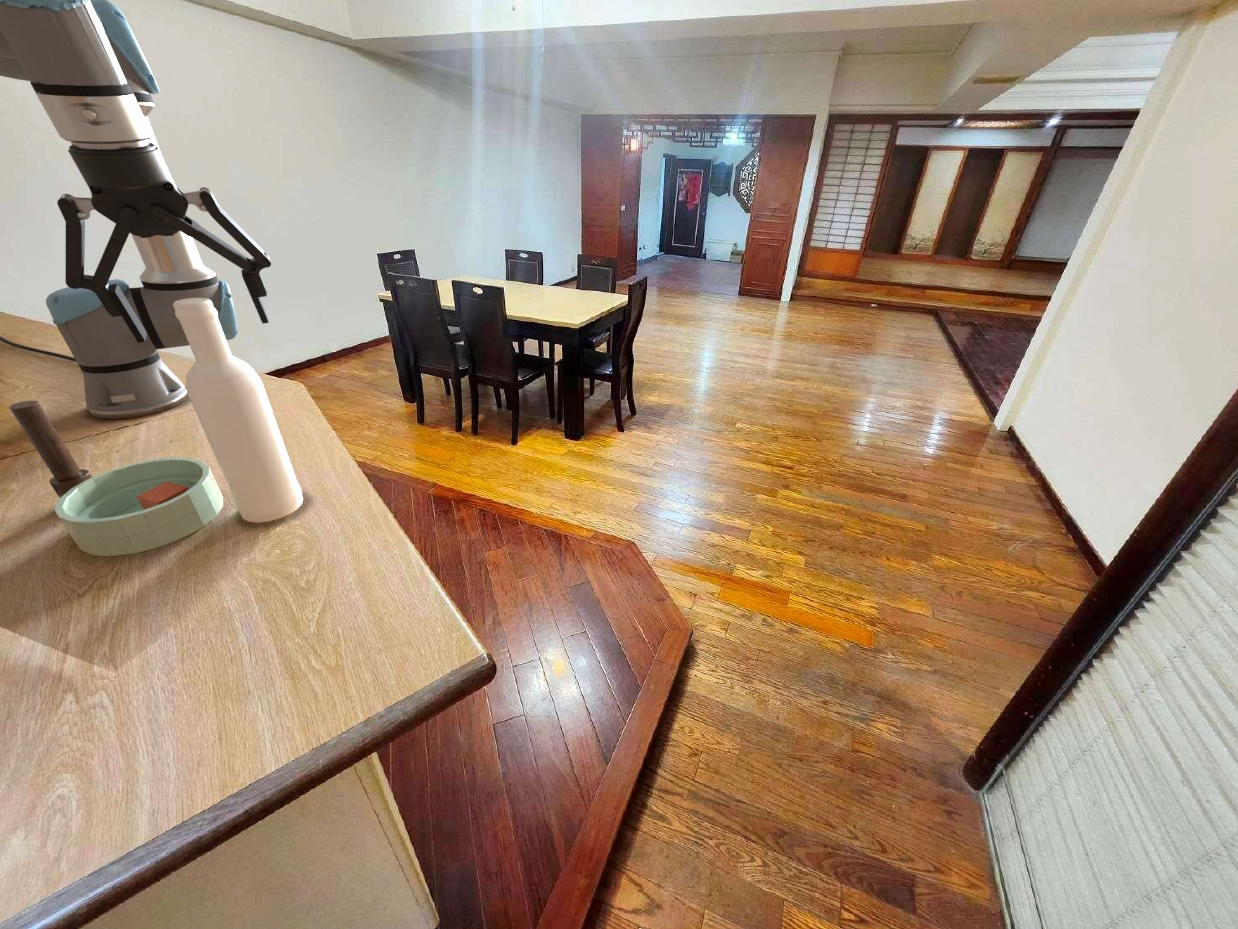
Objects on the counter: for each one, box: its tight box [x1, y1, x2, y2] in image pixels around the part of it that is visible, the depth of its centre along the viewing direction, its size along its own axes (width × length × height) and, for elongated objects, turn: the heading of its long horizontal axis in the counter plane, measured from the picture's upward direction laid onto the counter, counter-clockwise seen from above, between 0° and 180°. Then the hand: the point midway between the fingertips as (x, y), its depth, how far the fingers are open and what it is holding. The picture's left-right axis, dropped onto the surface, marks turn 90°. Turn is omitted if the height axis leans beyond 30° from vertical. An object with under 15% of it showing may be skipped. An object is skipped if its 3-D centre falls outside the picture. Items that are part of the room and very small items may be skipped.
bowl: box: [53, 456, 224, 557], centre depth 68 cm, size 16×16×6 cm
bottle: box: [173, 298, 304, 523], centre depth 65 cm, size 8×8×30 cm
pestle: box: [8, 400, 93, 499], centre depth 68 cm, size 4×4×16 cm
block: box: [137, 482, 189, 510], centre depth 69 cm, size 4×4×4 cm
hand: (206, 328), depth 66 cm, fingers open, 13 cm apart
